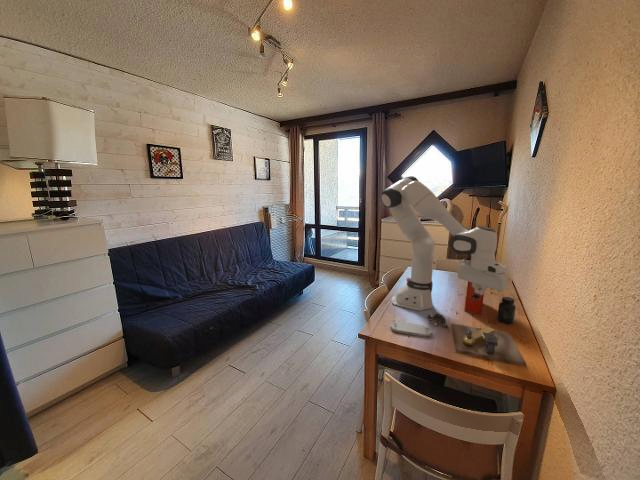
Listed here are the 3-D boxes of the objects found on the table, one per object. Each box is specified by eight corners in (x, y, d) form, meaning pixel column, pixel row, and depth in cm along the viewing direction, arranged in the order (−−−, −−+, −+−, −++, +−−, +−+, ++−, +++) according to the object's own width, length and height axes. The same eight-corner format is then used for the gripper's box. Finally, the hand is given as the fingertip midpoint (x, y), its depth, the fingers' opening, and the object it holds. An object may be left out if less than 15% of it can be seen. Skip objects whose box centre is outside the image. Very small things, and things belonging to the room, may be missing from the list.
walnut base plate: (456, 352, 107) (456, 349, 106) (451, 326, 127) (451, 323, 126) (525, 366, 98) (525, 362, 98) (508, 336, 118) (509, 332, 118)
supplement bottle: (497, 316, 136) (500, 294, 134) (513, 320, 132) (516, 297, 130) (496, 322, 130) (499, 299, 128) (513, 326, 127) (517, 302, 124)
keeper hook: (484, 352, 104) (485, 340, 103) (481, 343, 110) (482, 332, 109) (496, 355, 103) (497, 342, 102) (492, 345, 109) (494, 334, 108)
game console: (390, 327, 122) (391, 319, 130) (389, 332, 123) (391, 324, 130) (432, 334, 116) (431, 325, 124) (431, 339, 117) (431, 330, 124)
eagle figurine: (425, 324, 126) (445, 327, 121) (426, 309, 129) (446, 311, 123) (430, 327, 132) (449, 330, 126) (431, 313, 134) (450, 315, 129)
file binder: (481, 302, 153) (488, 248, 146) (481, 314, 138) (489, 255, 132) (465, 299, 157) (471, 246, 150) (464, 311, 142) (470, 253, 136)
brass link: (470, 347, 107) (471, 335, 106) (460, 342, 111) (462, 330, 110) (495, 335, 116) (497, 324, 115) (486, 331, 119) (487, 320, 118)
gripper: (455, 259, 123) (453, 287, 126) (502, 271, 105) (498, 303, 108) (464, 257, 126) (461, 285, 129) (511, 268, 108) (507, 300, 111)
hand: (479, 293), depth 118 cm, fingers closed
